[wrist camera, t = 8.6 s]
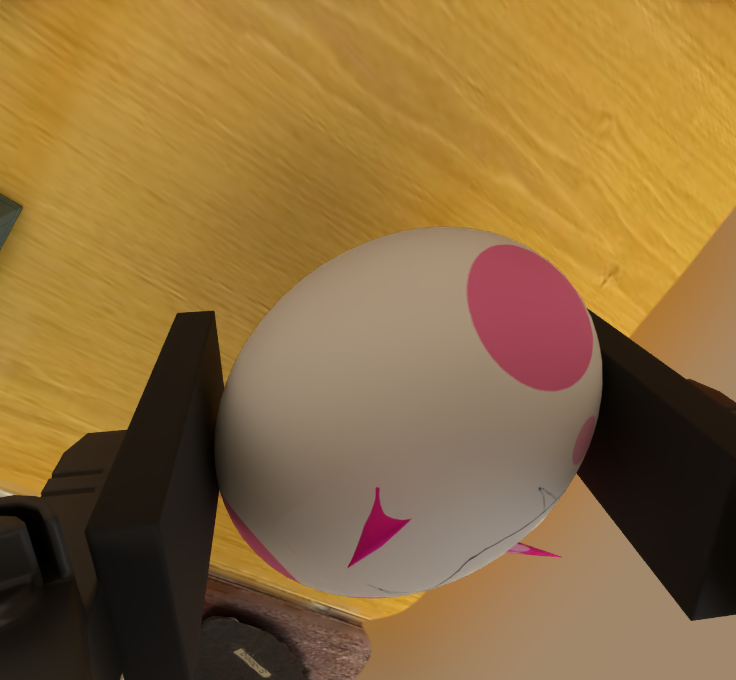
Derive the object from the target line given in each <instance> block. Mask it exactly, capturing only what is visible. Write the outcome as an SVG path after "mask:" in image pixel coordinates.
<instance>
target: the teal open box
mask: <svg viewBox="0 0 736 680" xmlns="http://www.w3.org/2000/svg"><path fill="white" fill-rule="evenodd" d="M22 208H23V207H22V206H20V205H19V204H17V203H15V202H13V201H12V200H10V199H8V198H7V197H5V196H3V195H1V194H0V249H1V247H2V245H3V243H4V241H5V240H6V238H7V236H8V234H9V232H10V230H11V228H12V227H13V225H14V223H15V221H16V219H17V217H18V215H19V213H20V212H21V210H22Z"/></svg>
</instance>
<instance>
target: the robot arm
mask: <svg viewBox="0 0 736 680" xmlns="http://www.w3.org/2000/svg"><path fill="white" fill-rule="evenodd" d="M587 310H588V312H589V314H590V316H591V318H592V321H593V324H594V327H595V331H596V334H597V337H598V341H599V346H600V352H601V358H602V396H601V403H600V409H599V415H598V419H597V423H596V427H595V430H594V434H593V437H592V439H591V442H590V445H589V448H588V450H587V452H586V455H585V457H584V459H583V461H582V463H581V465H580V467H579V469H578V471H577V475H578V476H579V477H580V478H581V480H582V481H583V482H584V484H585V485H586V486H587V487H588V488H589V490H590V491H591V493H592V494H593V495H594V496H595V498H596V499H597V500H598V502H599V503H600V504H601V505H602V507H603V508H604V509H605V511H606V512H607V513H608V515H609V516H610V517H611V518H612V520H613V521H614V522H615V524H616V525H617V526H618V527H619V529H620V530H621V531H622V533H623V534H624V535H625V536H626V538H627V539H628V540H629V542H630V543H631V544H632V545H633V547H634V548H635V549H636V551H637V552H638V553H639V555H640V556H641V557H642V558H643V560H644V561H645V562H646V564H647V565H648V566H649V567H650V569H651V570H652V571H653V573H654V574H655V575H656V576H657V578H658V579H659V580H660V582H661V583H662V584H663V585H664V587H665V588H666V589H667V590H668V592H669V593H670V595H671V596H672V597H673V598H674V600H675V601H676V602H677V604H678V605H679V606H680V607H681V609H682V610H683V611H684V613H685V614H686V615H687V616H688V618H689V619H690V620H691V621H693V620H701V619H708V618H715V617H722V616H729V615H736V402H734V401H733V400H731V399H730V398H728V397H727V396H725V395H724V394H723V393H721V392H720V391H717V390H715V389H713V388H710V387H708V386H705V385H703V384H701V383H698V382H696V381H694V380H691V379H685V378H684V377H682V376H681V375H679V374H678V373H677V372H675V371H674V370H672V369H671V368H670V367H668V366H667V365H665V364H664V363H663V362H661V361H660V360H658V359H657V358H656V357H654V356H653V355H652V354H650V353H649V352H647V351H646V350H645V349H643V348H642V347H640V346H639V345H638V344H636V343H635V342H633V341H632V340H631V339H629V338H628V337H626V336H625V335H624V334H622V333H621V332H619V331H618V330H617V329H615V328H614V327H613V326H611V325H610V324H608V323H607V322H606V321H604V320H603V319H601V318H600V317H599V316H597V315H596V314H594V313H593V312H592V311H590V310H589V309H587ZM223 391H224V382H223V375H222V367H221V359H220V351H219V343H218V336H217V328H216V320H215V312H214V311H201V312H185V313H177V315H176V317H175V319H174V322H173V324H172V326H171V329H170V331H169V333H168V336H167V338H166V340H165V343H164V345H163V347H162V350H161V352H160V354H159V357H158V359H157V361H156V364H155V366H154V369H153V371H152V373H151V376H150V378H149V380H148V383H147V385H146V387H145V390H144V392H143V394H142V397H141V399H140V401H139V404H138V406H137V408H136V411H135V413H134V415H133V418H132V420H131V423H130V425H129V427H128V430H119V431H108V432H96V433H88V434H86V435H85V436H84V437H83V438H81V439H80V440H79V441H78V442H77V443H75V444H74V445H73V446H72V447H70V448H69V449H68V450H67V451H65V452H64V454H63V455H62V457H61V459H60V461H59V462H58V464H57V466H56V468H55V469H54V471H53V473H52V478H51V479H49V480H48V482H47V483H46V485H45V487H44V489H43V490H42V492H41V497H37V496H21V495H12V496H6V497H1V498H0V680H121V676H122V674H123V678H124V680H194V673H195V665H196V658H197V651H198V643H199V636H200V629H201V621H202V614H203V607H204V599H205V592H206V584H207V577H208V570H209V562H210V555H211V548H212V540H213V533H214V526H215V518H216V511H217V504H218V496H219V485H218V480H217V476H216V468H215V456H214V438H215V428H216V420H217V414H218V410H219V405H220V400H221V397H222V394H223Z"/></svg>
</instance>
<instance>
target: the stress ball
mask: <svg viewBox="0 0 736 680" xmlns="http://www.w3.org/2000/svg"><path fill="white" fill-rule="evenodd" d="M601 396H602V358H601V352H600V346H599V341H598V337H597V334H596V331H595V327H594V324H593V321H592V318H591V316H590V314H589V312H588V310H587V308H586V306H585V304H584V302H583V300H582V298H581V297H580V295H579V294H578V292H577V291H576V290H575V288H574V287H573V286H572V284H571V283H570V282H569V280H568V279H567V278H566V276H565V275H564V274H563V273H562V272H561V271H559V270H558V269H557V268H556V267H555V266H554V265H553V264H552V263H551V262H550V261H549V260H547V259H545V258H544V257H542V256H541V255H539V254H538V253H536V252H535V251H533V250H532V249H530V248H529V247H527V246H525V245H523V244H521V243H519V242H517V241H514V240H512V239H510V238H508V237H505V236H502V235H498V234H495V233H492V232H488V231H483V230H477V229H472V228H460V227H426V228H418V229H411V230H406V231H401V232H397V233H393V234H389V235H386V236H382V237H379V238H377V239H374V240H371V241H368V242H366V243H363V244H361V245H359V246H357V247H354V248H352V249H350V250H348V251H346V252H344V253H342V254H340V255H338V256H337V257H335V258H333V259H331V260H330V261H328V262H326V263H325V264H323V265H321V266H320V267H318V268H317V269H316V270H314V271H313V272H311V273H310V274H309V275H307V276H306V277H305V278H303V279H302V280H300V281H299V282H298V283H297V284H296V285H295V286H294V287H293V288H292V289H290V290H289V291H288V292H287V293H286V294H285V295H284V296H283V297H282V298H281V299H280V300H279V301H278V302H277V303H276V304H275V305H274V306H273V308H272V309H271V310H270V311H269V312H268V313H267V314H266V315H265V317H264V318H263V319H262V320H261V322H260V323H259V325H258V326H257V327H256V329H255V330H254V332H253V333H252V334H251V336H250V337H249V338H248V340H247V341H246V343H245V345H244V347H243V348H242V350H241V352H240V354H239V355H238V357H237V359H236V361H235V363H234V366H233V368H232V370H231V373H230V375H229V377H228V380H227V382H226V385H225V388H224V391H223V394H222V397H221V400H220V405H219V410H218V414H217V420H216V428H215V438H214V456H215V468H216V476H217V480H218V485H219V489H220V492H221V496H222V499H223V502H224V504H225V507H226V509H227V511H228V513H229V515H230V518H231V520H232V522H233V524H234V525H235V527H236V528H237V530H238V531H239V533H240V535H241V536H242V538H243V539H244V540H245V541H246V542H247V544H248V545H249V546H250V547H251V548H252V549H253V550H254V552H255V553H256V554H257V555H258V556H259V557H261V558H262V559H263V560H264V561H265V562H266V563H268V564H269V565H270V566H271V567H272V568H274V569H276V570H277V571H279V572H280V573H282V574H283V575H285V576H286V577H288V578H290V579H292V580H294V581H296V582H298V583H300V584H302V585H304V586H307V587H310V588H313V589H316V590H319V591H322V592H326V593H330V594H334V595H340V596H347V597H356V598H386V597H397V596H403V595H409V594H414V593H419V592H423V591H427V590H430V589H434V588H437V587H439V586H442V585H445V584H448V583H450V582H453V581H455V580H458V579H460V578H463V577H465V576H467V575H469V574H471V573H472V572H475V571H476V570H478V569H480V568H482V567H484V566H485V565H487V564H489V563H490V562H491V561H493V560H495V559H496V558H498V557H500V556H501V555H503V554H504V553H516V554H527V555H539V556H551V557H560V556H557V555H554V554H551V553H548V552H545V551H543V550H540V549H537V548H534V547H531V546H528V545H525V544H522V543H519V542H520V541H521V540H522V539H523V538H524V537H525V536H526V535H527V534H528V533H529V532H531V531H532V530H533V529H534V528H535V527H536V526H537V525H538V524H539V523H540V522H541V520H542V519H543V518H544V517H545V516H546V515H547V514H548V513H549V512H550V510H551V509H552V508H553V507H554V505H555V504H556V503H557V502H558V500H559V499H560V498H561V496H562V495H563V494H564V492H565V491H566V489H567V488H568V486H569V484H570V483H571V481H572V480H573V478H574V476H575V475H576V473H577V471H578V469H579V467H580V465H581V463H582V461H583V459H584V457H585V455H586V452H587V450H588V448H589V445H590V442H591V439H592V437H593V434H594V430H595V427H596V423H597V419H598V415H599V409H600V403H601Z"/></svg>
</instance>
